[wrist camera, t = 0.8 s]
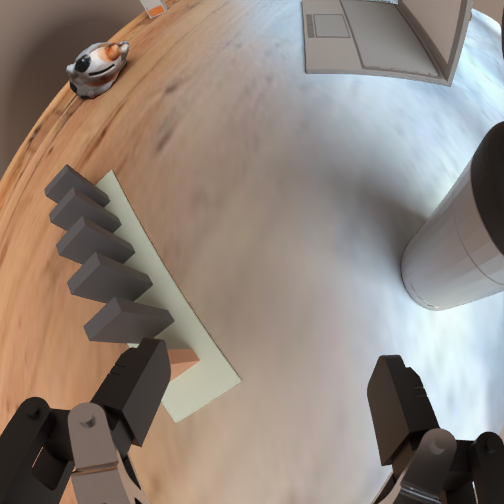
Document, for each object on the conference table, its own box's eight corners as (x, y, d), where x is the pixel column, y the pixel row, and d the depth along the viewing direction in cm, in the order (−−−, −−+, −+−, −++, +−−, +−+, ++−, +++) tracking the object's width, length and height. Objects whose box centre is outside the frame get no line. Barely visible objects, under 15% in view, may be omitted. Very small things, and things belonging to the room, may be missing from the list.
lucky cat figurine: (127, 54, 57) (120, 16, 42) (139, 86, 58) (132, 46, 43) (71, 79, 54) (54, 44, 38) (78, 113, 54) (58, 78, 39)
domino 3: (135, 252, 36) (85, 225, 27) (111, 275, 36) (58, 254, 27) (131, 244, 36) (82, 215, 27) (107, 266, 36) (56, 244, 27)
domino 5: (174, 321, 32) (121, 311, 22) (146, 344, 32) (89, 340, 22) (168, 310, 32) (114, 296, 23) (140, 333, 32) (83, 326, 23)
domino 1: (110, 201, 40) (68, 170, 31) (89, 222, 40) (45, 195, 31) (107, 195, 40) (66, 164, 31) (87, 215, 40) (44, 189, 31)
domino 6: (200, 360, 30) (151, 366, 20) (169, 382, 30) (115, 392, 20) (192, 348, 30) (142, 349, 21) (162, 371, 30) (106, 377, 21)
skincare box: (150, 19, 65) (135, -6, 54) (152, 15, 66) (138, -9, 55) (166, 12, 64) (153, -14, 53) (168, 8, 65) (155, -17, 54)
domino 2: (121, 224, 38) (75, 194, 29) (99, 247, 38) (50, 222, 29) (118, 217, 38) (73, 186, 29) (96, 239, 38) (49, 214, 29)
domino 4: (153, 284, 34) (100, 263, 25) (126, 308, 34) (71, 294, 24) (147, 275, 34) (95, 251, 25) (121, 298, 34) (67, 282, 25)
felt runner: (242, 380, 28) (241, 381, 28) (177, 422, 28) (175, 422, 28) (112, 170, 43) (111, 169, 42) (73, 209, 42) (72, 209, 42)
